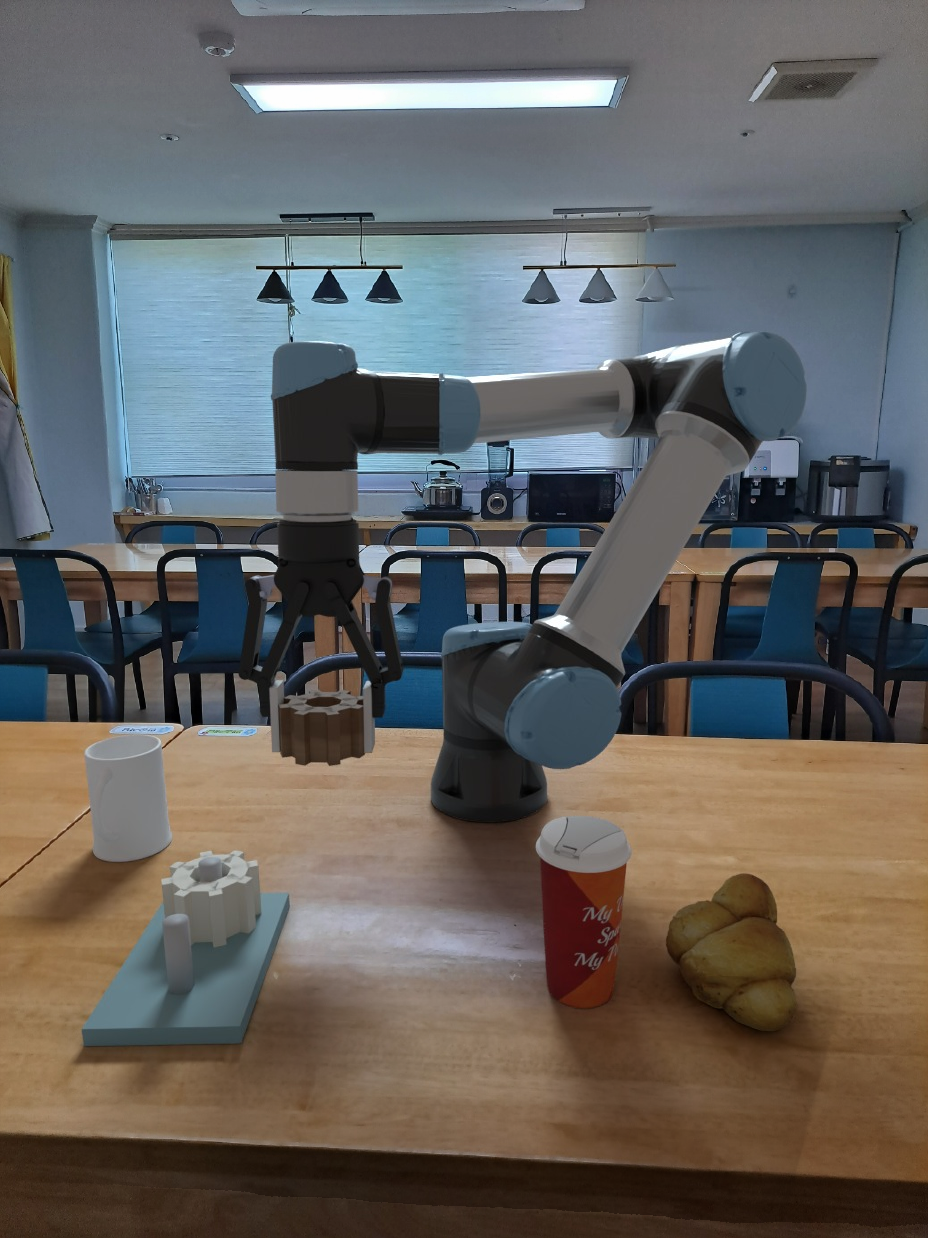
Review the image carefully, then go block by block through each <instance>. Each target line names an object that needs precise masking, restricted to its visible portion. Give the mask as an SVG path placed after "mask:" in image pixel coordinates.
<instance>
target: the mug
mask: <svg viewBox="0 0 928 1238" xmlns="http://www.w3.org/2000/svg"><path fill="white" fill-rule="evenodd" d="M83 753H84V754H83V755H84V760H85V761H84V762H85V772H86V780H87V790H88V798H89V807H90V814H91V815H90V817H91V826H92V834H93V835H92V836H93V843H92V844H93V845H92V853H93V855H94V856H95V857H96V858H97V859H99V860H101V861H104V862H108V863H109V862H110V863H127V862H132V861H139V860H142V859H145V858H148V857H151V856H154V855H156V854H157V853H161V851H163V850H165V849H166V848H167V847H168V846H169V845H170V844H171V842H172V840H173V832H172V830H171V828H170V821H169V812H168V811H169V809H168V802H167V789H166V788H167V787H166V778H165V767H164V757H163V756H164V755H163V747H162V741H161V739H160V738H159V737H157V736H154V735H148V734H126V735H119V736H113V737H110V738H104V739H102V740H100V741H97V742H95V743H92V744H90V745H89V746H88V747H86V749H85V750H84V752H83Z"/></svg>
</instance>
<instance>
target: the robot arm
mask: <svg viewBox="0 0 928 1238" xmlns="http://www.w3.org/2000/svg"><path fill="white" fill-rule="evenodd" d="M356 359H357V357H356V351H355V350H354V348H353V347H351V346H350V345H348V344H345V343H335V342H330V341H318V340H317V341H313V340H311V341H310V340H305V341H304V340H303V341H291V342H287V343H283V344H281V345H280V346H278V347H277V348H276V349H275V351H274V352H273V356H272V374H271V376H272V377H271V379H272V380H271V382H272V383H271V394H270V400H271V401H272V418H273V437H274V438H273V439H274V458H275V459H274V460H275V463H274V464H275V470H274V472H275V477H274V478H275V505H276V509H275V511H276V512H277V513H278V514H279V515H282V516H283V518H282V519H280V520H278V521H279V522H278V523H277V524H276V530H277V532H276V533H277V534H276V535H277V557H278V558H277V559H278V564H277V569H276V571H275V572H274V574H271V575H265V576H261V575H259V574H257V575H252V577H249V578H248V579H247V580H245V583H244V587H245V593H246V597H247V598H246V599H247V602H248V606H247V611H246V612H247V613H246V620H245V626H244V632H243V633H244V634H243V640H242V646H241V652H240V660H239V666H238V677H239V679H240V680H242V681H247V680H248V681H250V682H253V683H255V684H256V685H257V686H258V695H259V713H260V715H261V718H270V734H271V736H270V737H271V753H280V730H279V705H281V704H284V698H285V686H284V684H285V683H284V680H283V679H279V680H277V679H275V678H276V677H277V675H278V674H277V673H278V672H279V669H280V667H281V665H282V662H283V660H284V658H285V655H286V653H287V650H288V649H289V646H290V643H291V642H292V639H293V636H294V634H295V633H296V629H297V628H298V625H299V623H300V621H301V619H302V617H303V618H305V617H306V618H307V617H308V618H310V617H315V616H322V617H326V618H336V617H337V620H338V621H339V624H340V625H341V626H342V627H343V629H344V631H345V633H346V635H347V637H348V639H349V642H350V644H351V645H352V647H353V650H354V652H355V654H356V656H357V658H358V660H359V661H360V664H361V666H362V668H363V671H364V672H365V674H366V676H367V678H368V680H366V681H365V684H364V686H363V688H362V694H363V695H362V696H363V709H364V753H365V754H372V753H373V752H374V748H375V746H376V745H375V744H376V725H375V724H376V722H375V720H376V718H377V719H378V718H379V719H382V718H383V716H384V714H385V711H386V685H388V684H389V683H391V682H399V681H400V680H401V679H402V677H403V673H404V671H405V670H404V663H403V662H404V661H403V659H402V655H401V654H402V653H401V649H400V643H399V639H398V633H397V628H396V623H395V619H394V613H393V608H392V604H391V596H392V589H393V579H392V577H390V576H388V575H386V576H383V577H377V576H371V575H366V574H365V572H364V571H363V569H362V567H361V563H360V528H359V527H360V526H359V525H360V524H359V522H357V520H356V519H355V518H354V517H353V515H356V514H357V513H358V511H359V487H358V486H359V482H358V479H359V477H358V476H359V475H358V470H359V469H358V467H359V464H358V455H359V454H361V455H365V456H366V455H374V454H375V455H376V454H437V455H439V456H442V455H444V454H462V453H465V452H467V451H468V450H470V449H471V448H472V446H473V445H474V444H483V443H484V444H485V443H492V442H493V443H495V442H505V441H513V440H515V441H516V440H526V439H527V440H528V439H536V438H537V439H538V438H548V437H557V436H567V435H579V434H590V433H599V434H600V435H601V436H602V437H604V438H606V439H611V440H612V439H621V438H638V439H641V438H642V439H655V440H658V442H657V443H656V445H655V447H654V449H653V450H652V452H651V454H650V455H649V457H648V458H647V460H646V462H645V464H644V465H643V467H642V468H641V470H640V472H639V474H638V475H637V477H636V478H635V480H634V481H633V483H632V485H631V487H630V488H629V490H628V492H627V493H626V495H625V497H624V499H623V500H622V502H621V503H620V505H619V507H618V508H617V510H616V511H615V513H614V515H613V517H612V518H611V520H610V522H609V524H608V525H607V526H606V529H605V530H604V531H603V533H602V535H601V536H600V538H599V540H598V541H597V543H596V544H595V547H594V548H593V550H592V551H591V554H590V555H589V556H588V558H587V560H586V561H585V563H584V564H583V567H582V568H581V570H580V572H578V575H577V576H576V578H575V579H574V581H573V583H572V585H571V586H570V588H569V590H568V591H567V594H566V595H565V597H564V598H563V599H562V601H561V603H560V605H559V606H558V607H557V610H556V612H555V613H554V614H553V615H551V616H547V617H544V618H541V619H536V620H534V622H533V623H532V624H531V623H528V622H522V621H496V622H495V621H494V622H481V623H478V622H477V623H471V624H470V623H469V624H462V625H457V626H454V627H453V626H452V628H449V629H448V630H446V631H445V632H444V635H443V636H442V647H441V654H440V659H441V677H442V678H441V680H442V681H441V682H442V687H441V688H442V719H443V720H442V721H443V723H442V724H443V725H442V727H443V741H442V745H441V748H440V752H439V755H438V758H437V761H436V763H435V767H434V769H433V773H432V776H431V779H430V800H431V803H432V804H433V806H434V807H435V808H436V809H438V811H440V812H442V813H443V814H445V815H447V816H450V817H453V818H455V819H460V820H464V821H470V822H482V823H500V822H509V821H515V820H519V819H523V818H526V817H529V816H531V815H533V814H535V813H537V812H539V811H540V810H542V809H543V808H544V807H545V805H546V804H547V800H548V782H547V781H548V780H547V777H546V774H545V771H544V768H543V767H545V768H548V769H552V770H569V769H572V768H574V767H575V768H576V767H577V766H583V765H585V764H587V763H589V762H590V761H592V760H593V759H595V758H596V757H598V756H599V755H600V754H601V753H602V752H603V751H604V750H605V749H607V747H608V746H609V745H610V743H611V742H612V740H613V739H614V737H615V735H616V733H617V731H618V729H619V726H620V724H621V718H622V712H621V710H620V706H621V705H622V701H621V700H622V699H621V695H620V693H619V690H618V687H619V686H620V684H621V682H622V680H623V678H624V677H625V675H626V671H625V668H624V667H625V666H624V663H623V660H622V653H623V651H624V649H625V648H626V646H627V644H628V642H629V641H630V639H631V637H632V636H633V634H634V633H635V631H636V629H637V628H638V626H639V625H640V622H641V621H642V620H643V617H644V616H645V614H646V612H647V610H648V609H649V607H650V605H651V603H653V600H654V598H655V597H656V595H657V594H658V592H659V590H660V588H661V587H662V585H663V583H664V581H666V578H667V577H668V575H669V574H670V572H671V570H672V568H673V567H674V565H675V563H676V561H677V560H678V558H679V556H680V554H681V553H682V552H683V550H684V548H685V546H686V544H687V543H688V541H689V539H690V538H691V536H692V535H693V533H694V531H695V529H696V527H697V526H698V525H699V523H700V521H701V519H702V517H703V516H704V514H705V512H706V510H707V509H708V507H709V505H710V504H711V502H712V500H713V499H714V497H715V495H716V494H717V492H718V491H719V489H720V487H721V486H722V483H723V482H724V480H725V478H726V477H727V476H731V475H735V474H739V473H741V472H742V473H743V472H745V470H746V469H747V468H748V466H749V465H750V463H751V461H752V460H753V457H754V456H755V455H756V453H757V451H758V449H759V448H760V446H761V445H762V443H763V442H773V441H777V440H778V439H780V438H784V437H786V436H787V435H789V434H790V433H791V432H792V431H793V430H794V429H795V428H796V426H797V425H798V424H799V421H800V420H801V418H802V415H803V413H804V409H805V405H806V401H807V382H806V379H805V373H806V372H805V368H804V366H803V362H802V360H801V358H800V356H799V354H798V353H797V351H796V348H794V346H793V345H792V344H791V343H790V342H789V341H788V340H787V339H786V338H785V337H783V336H781V335H779V334H778V333H775V332H771V331H754V332H751V331H741V332H738V333H736V334H734V335H732V336H727V337H726V336H725V337H720V338H715V339H708V340H704V341H703V340H702V341H697V342H690V343H682V344H678V345H674V346H671V347H666V348H663V349H660V350H656V351H652V352H649V353H646V354H641V355H635V356H632V357H627V358H618V359H617V358H616V359H607V360H604V361H603V362H601V363H600V364H599V365H598V366H597V367H596V368H595V369H593V368H592V369H581V370H579V369H576V370H564V371H563V370H562V371H549V372H548V371H546V372H534V373H533V372H532V373H531V372H530V373H516V374H514V373H513V374H501V375H500V374H498V375H486V376H485V375H484V376H468V377H467V376H466V377H465V376H462V375H453V374H451V375H450V374H445V373H443V372H438V373H425V372H424V373H422V372H398V371H397V372H394V371H373V370H370V369H369V370H367V369H365V368H358V367H359V366H358V365H359V364H358V362H357V360H356ZM274 587H276V588H277V590H279V592H280V593H281V595H282V596H283V597H284V599H285V600H286V601H287V602H288V605H287V608H286V610H285V613H284V614H283V618H282V620H281V623H280V627H279V628H278V630H277V633H276V635H275V638H274V639H273V642H272V645H271V647H270V649H269V652H268V653H267V657H266V659H265V660H264V663H263V665H262V666H261V665H259V659H260V653H261V646H262V640H263V633H264V626H265V620H266V613H267V606H268V598H270V597H271V596H272V595H273V590H274ZM362 588H365V589H366V590H367V593H368V597H369V599H370V600H373V601H374V602H375V613H376V617H377V624H378V629H379V632H380V638H381V642H382V648H383V652H384V657H385V661H386V666H387V667H384V668H383V665H382V663H381V661H380V659H379V657H378V655H377V653H376V651H375V649H374V647H373V644H372V643H371V640H370V639H369V637H368V635H367V632H366V630H365V627H364V626H363V624H362V622H361V619H360V617H359V613H358V611H357V609H356V607H355V605H354V603H353V600H354V599H355V597H356V596H357V595H358V593H359V592H360V590H361V589H362Z"/></svg>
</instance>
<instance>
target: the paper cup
mask: <svg viewBox="0 0 928 1238" xmlns="http://www.w3.org/2000/svg"><path fill="white" fill-rule="evenodd" d="M535 850H536V852H537V855H538V856H539V863H540V865H539V867H540V884H541V904H542V905H541V906H542V923H543V925H542V926H543V944H544V961H545V976H546V977H545V978H546V985H547V989H548V992H549V994H550V995H551V997H552V998H553V999H555V1000H556V1001H557V1002H559V1003H561V1004H562V1005H564V1006H566V1007H570V1008H575V1009H582V1010H583V1009H584V1010H586V1009H595V1008H598V1007H601V1006H603V1005H605V1004H607V1003H608V1002H609V1001H610V999H611V998H612V996H613V993H614V988H615V983H616V974H617V964H618V956H619V945H620V934H621V926H622V915H623V907H624V905H623V903H624V895H625V884H626V874H627V863H628V862H629V861H630V860H631V857H632V848H631V846H630V844H629V842H628V838H627V835H626V833H625V831H624V830H623V829H622V828H621V827H619V826H618V825H617V824H615V823H614V822H612V821H609V820H607V819H604V818H600V817H595V816H589V815H567V816H560V817H557V818H554V819H552V820H550V821H548V822H547V823H546V824H545V825H544V826H543V828H542V829H541V833H540V836H539V837H538V839H537V841H536V843H535Z"/></svg>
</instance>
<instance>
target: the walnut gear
mask: <svg viewBox="0 0 928 1238" xmlns="http://www.w3.org/2000/svg"><path fill="white" fill-rule="evenodd" d="M351 693H352V692H351V691H350V690H345V689H340V690H338V691H321V690H320V689H313V690H308V693H304V694H301V695H293V694H292V695H290V694H289V695H287V696H284V704H281V705H279V730H280V752H279V754H280V757H281V758H282V759H283V758H291V757H292V758H294V761H295V763H294V764H295V765H299V766H304V767H305V766H308V765H309V764H312V763H325V764H327V765H328V766H329V767H331V766H332V767H333V766H338V765H339V766H340V765H341V761H343V760H346V759H349V758H354V759H361V758H362V757H364V756H365V755H366V753H364V709H363V695H359V696H354V695H351Z"/></svg>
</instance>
